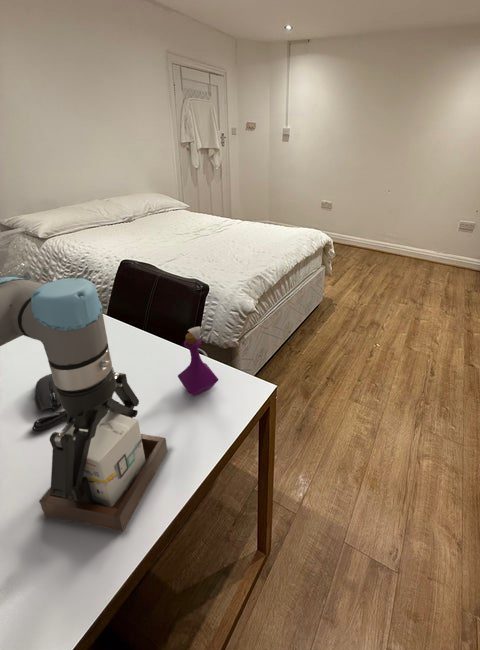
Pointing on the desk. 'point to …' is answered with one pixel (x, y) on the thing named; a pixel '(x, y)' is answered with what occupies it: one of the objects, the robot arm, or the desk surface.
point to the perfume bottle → (196, 367)
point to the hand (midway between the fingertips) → (108, 471)
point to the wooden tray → (127, 502)
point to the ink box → (114, 458)
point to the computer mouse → (47, 403)
